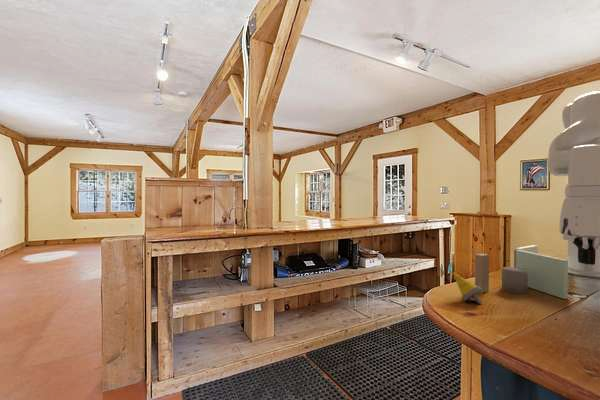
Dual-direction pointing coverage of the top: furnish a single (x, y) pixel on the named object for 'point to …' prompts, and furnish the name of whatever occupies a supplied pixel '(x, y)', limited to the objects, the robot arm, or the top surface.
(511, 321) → the top surface
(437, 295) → the top surface
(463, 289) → the drill bit
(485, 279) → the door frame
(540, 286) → the door
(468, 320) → the top surface
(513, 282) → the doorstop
